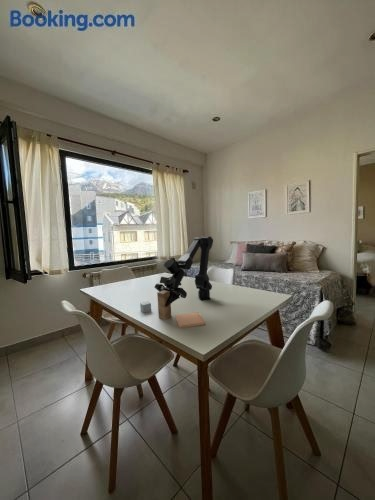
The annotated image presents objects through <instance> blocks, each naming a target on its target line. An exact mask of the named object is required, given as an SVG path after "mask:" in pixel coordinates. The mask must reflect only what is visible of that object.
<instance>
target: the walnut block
mask: <svg viewBox="0 0 375 500" xmlns="http://www.w3.org/2000/svg"><path fill="white" fill-rule="evenodd" d="M156 296H157V311H158V318H159V319H161V320H163V321H165V320H168V319H170V318H171V317H172V303H171V304H170V305H168V306H167V307H166V306H165V304H166V302H167V300H168V298H169V296H170V291H165V290H163V291H160V292H159V291H158V292H156Z"/></svg>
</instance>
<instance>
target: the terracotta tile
mask: <svg viewBox="0 0 375 500" xmlns="http://www.w3.org/2000/svg"><path fill="white" fill-rule="evenodd" d="M174 317H175V320H176V323H177V326H178V328H179V329H182V328H188V327H189V328H190V327H195V326H196V327H197V326H203V325H206V321H205V320H204V319H203V317H202V316H201V314H200V313H199V312H192V313H191V312H190V313H181V314H175V315H174Z"/></svg>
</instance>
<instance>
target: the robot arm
mask: <svg viewBox="0 0 375 500" xmlns="http://www.w3.org/2000/svg"><path fill="white" fill-rule="evenodd" d="M213 243H214V239H213V237H212V236H210V235H209V236H200V237H194V238H193V241H192V242H191V244H190V246H189V247H188V249H187V251H186V252H185V254H184V255H182V256H180V257H179V259H178V260H176V258H174V257H170V259H168V260H166V261H165V262H164V264H163V267H164V268H165V269H166V270H167V271H168V273H170V274H171V276H169V277H165V276H160V279H159V283H156V284H155V285H154V288H155V290H157V291H158V292H160V291H163V290H165V291H170V296H169V298H168V300H167V302H166V304H165V306H166V307H167V306H168V305H170V304H171V305H172V304H173V302H175V301H177V300H178V299H180V298H182V299H186V298H187V294H188V293H187V291H185V290H184V288H183V287H179V286H182V281H183V278H184V277H185V278H187V277H188V274H187V271H188V270H190V269H191V268H192V265H193V264H194V263H193V259H194V257H195V255H196V254H197V252H198V250H199V248H200V259H199V261H200V262H199V269H198V273H197V274H196V275H195V277H194V284H195V288H196V289H198V291H197V293H198V294H197V295H198V296H197V298H198V299H200V301H205V300H207V301H208V300H212V299H211V294H210V293H211V290H212V288H213V285H212V284H211V282H210V277H209V275H208V267H209V256H210V255H209V254H210V251H211V249H212V247H213V245H214V244H213ZM185 270H186V271H185Z"/></svg>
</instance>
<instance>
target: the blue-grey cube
mask: <svg viewBox="0 0 375 500" xmlns="http://www.w3.org/2000/svg"><path fill="white" fill-rule="evenodd" d="M139 306H140V312H141V313H143V314H146V313H149V312H152V303H151V302H150V301H148V300H147V301H142V302H140V305H139ZM145 312H146V313H145Z"/></svg>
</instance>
